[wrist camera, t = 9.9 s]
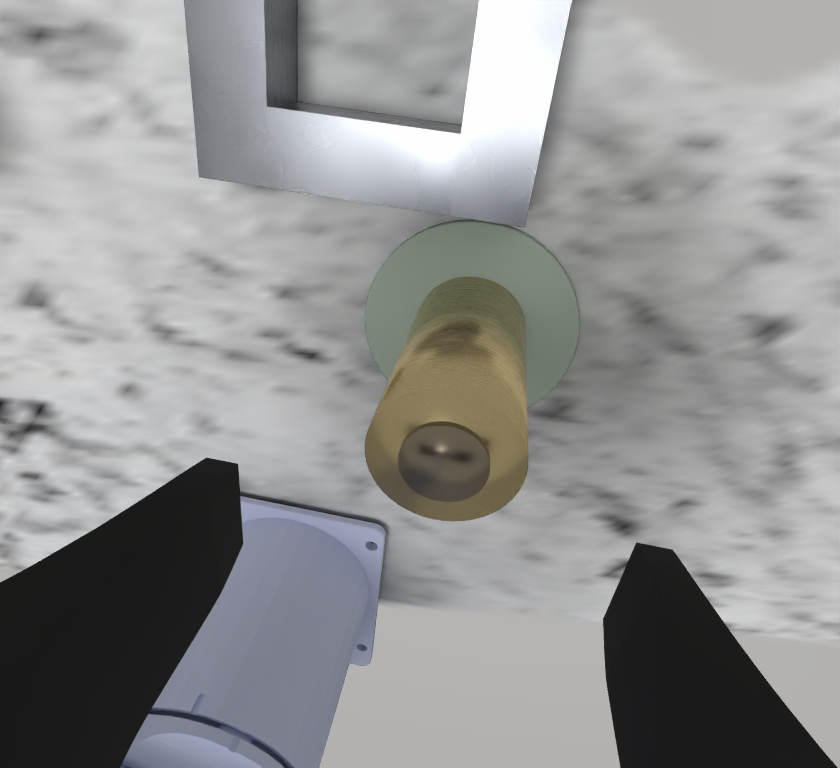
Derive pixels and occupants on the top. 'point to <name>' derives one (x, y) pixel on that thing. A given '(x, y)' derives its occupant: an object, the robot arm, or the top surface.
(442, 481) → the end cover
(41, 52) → the top surface
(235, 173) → the housing
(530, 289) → the mat
